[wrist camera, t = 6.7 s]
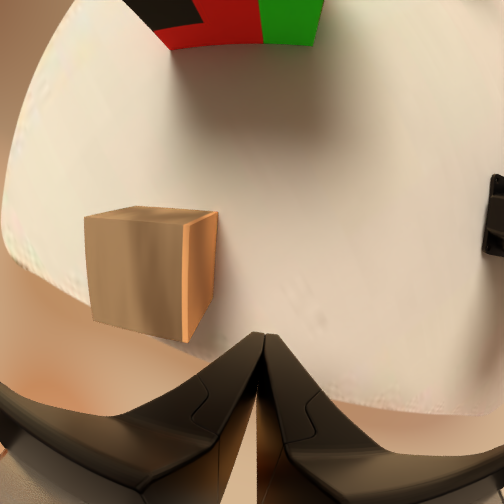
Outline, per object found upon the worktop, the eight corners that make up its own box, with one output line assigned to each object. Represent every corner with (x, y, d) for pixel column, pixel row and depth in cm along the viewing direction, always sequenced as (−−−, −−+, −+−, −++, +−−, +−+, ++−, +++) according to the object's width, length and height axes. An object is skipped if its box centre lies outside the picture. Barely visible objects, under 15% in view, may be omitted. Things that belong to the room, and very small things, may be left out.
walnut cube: (189, 225, 12) (84, 216, 12) (188, 343, 13) (93, 320, 14) (218, 211, 18) (136, 205, 18) (212, 298, 19) (136, 285, 20)
